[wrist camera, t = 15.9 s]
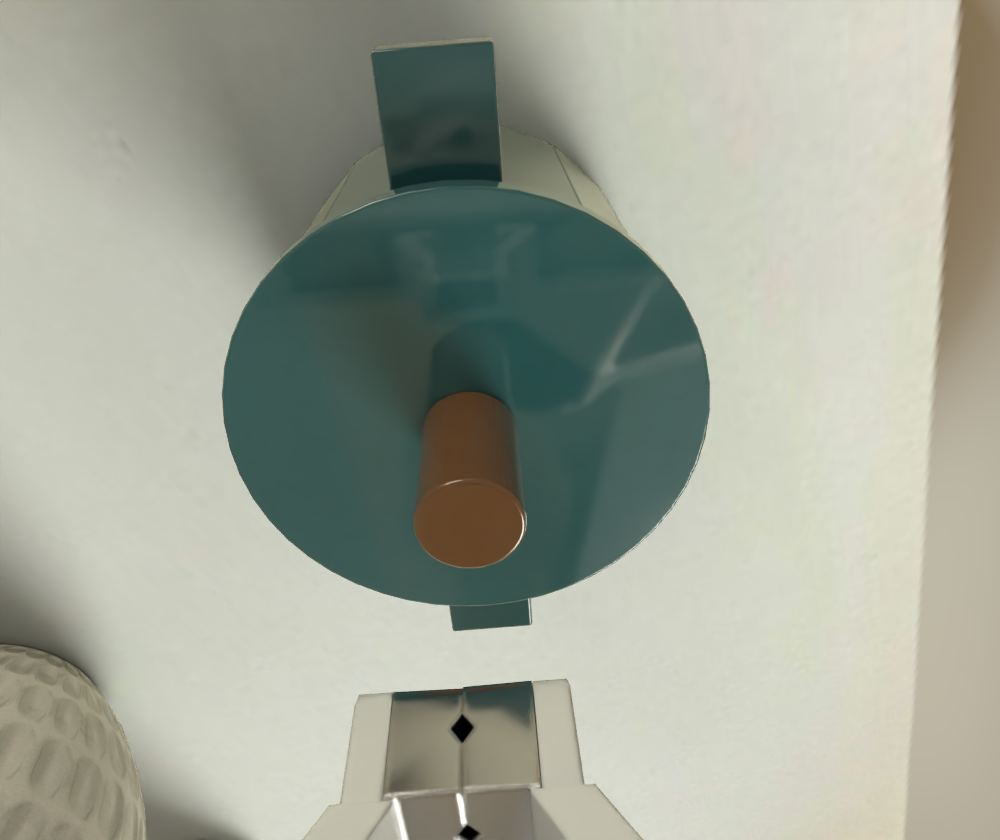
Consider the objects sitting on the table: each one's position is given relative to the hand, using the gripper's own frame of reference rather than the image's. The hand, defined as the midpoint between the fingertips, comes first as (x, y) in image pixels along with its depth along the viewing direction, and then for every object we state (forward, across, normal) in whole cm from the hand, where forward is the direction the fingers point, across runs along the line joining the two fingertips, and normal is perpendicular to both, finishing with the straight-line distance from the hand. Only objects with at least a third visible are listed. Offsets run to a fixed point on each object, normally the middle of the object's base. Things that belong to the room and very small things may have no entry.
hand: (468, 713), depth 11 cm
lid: (+8, 0, 0) cm, 8 cm away
